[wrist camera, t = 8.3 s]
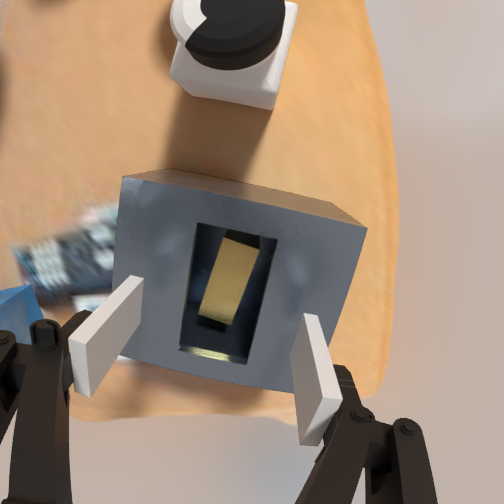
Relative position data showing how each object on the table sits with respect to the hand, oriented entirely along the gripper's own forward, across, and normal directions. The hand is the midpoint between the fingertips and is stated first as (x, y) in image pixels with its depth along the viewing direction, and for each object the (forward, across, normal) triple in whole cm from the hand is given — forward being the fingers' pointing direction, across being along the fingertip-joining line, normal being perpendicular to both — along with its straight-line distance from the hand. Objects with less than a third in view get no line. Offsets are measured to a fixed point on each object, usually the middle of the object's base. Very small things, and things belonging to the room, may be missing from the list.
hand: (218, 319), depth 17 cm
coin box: (+12, 0, 0) cm, 12 cm away
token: (+12, 0, 0) cm, 12 cm away
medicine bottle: (+13, -3, +16) cm, 21 cm away
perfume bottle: (+13, -24, -13) cm, 30 cm away
